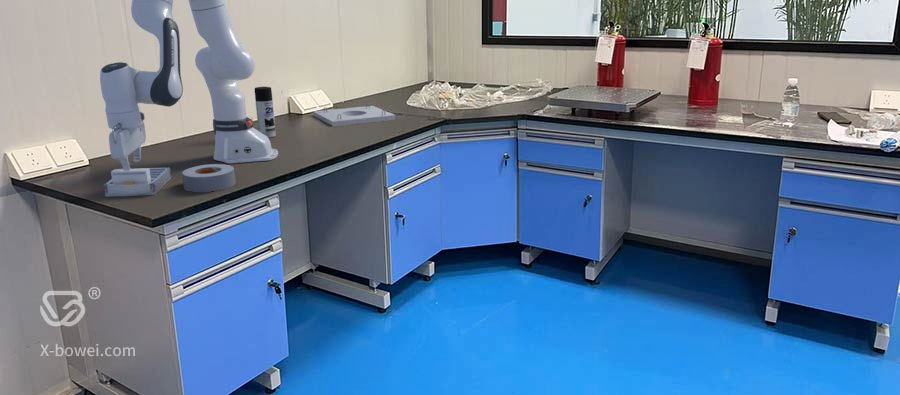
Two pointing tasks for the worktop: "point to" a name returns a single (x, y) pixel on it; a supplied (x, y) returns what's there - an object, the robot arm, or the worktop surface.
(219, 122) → the robot arm
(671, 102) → the worktop surface
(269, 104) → the spray can
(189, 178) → the tape roll
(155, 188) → the rack
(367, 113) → the mounting panel
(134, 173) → the panel
